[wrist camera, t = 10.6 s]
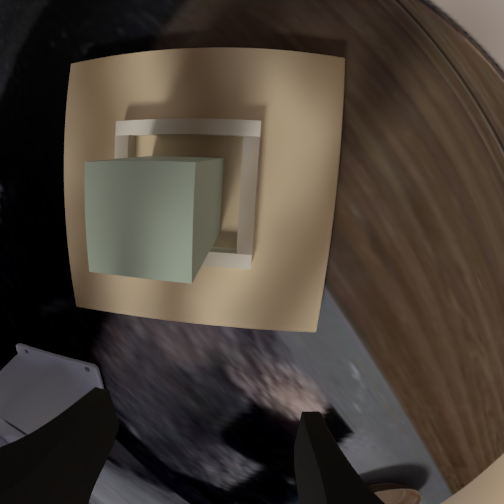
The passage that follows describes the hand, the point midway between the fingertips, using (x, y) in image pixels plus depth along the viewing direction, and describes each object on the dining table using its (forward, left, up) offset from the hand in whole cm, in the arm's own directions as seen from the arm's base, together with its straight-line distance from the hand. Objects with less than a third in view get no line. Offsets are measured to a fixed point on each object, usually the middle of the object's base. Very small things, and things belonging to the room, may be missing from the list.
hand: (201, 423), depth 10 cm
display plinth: (-3, +7, -10) cm, 13 cm away
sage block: (-3, +7, -9) cm, 12 cm away
